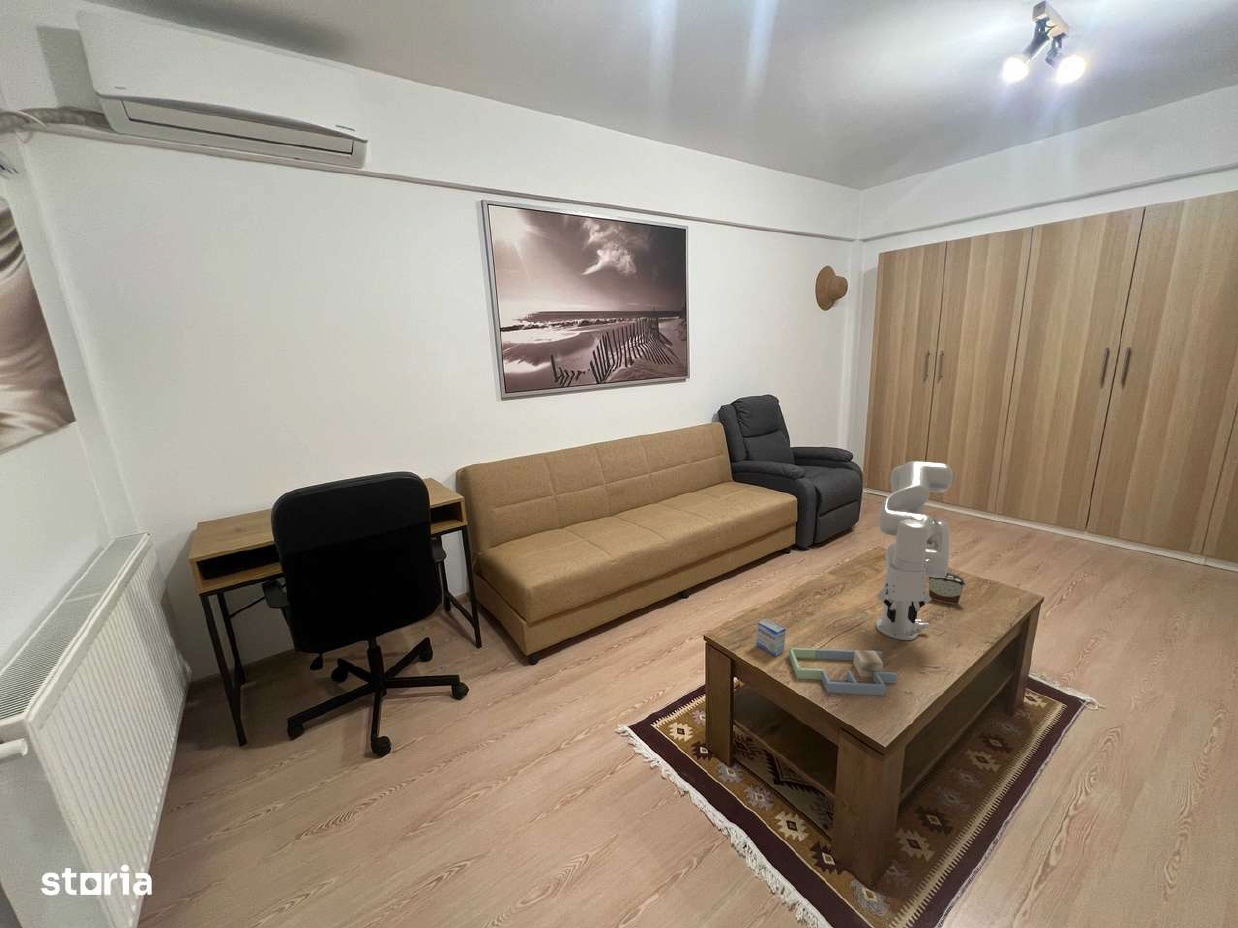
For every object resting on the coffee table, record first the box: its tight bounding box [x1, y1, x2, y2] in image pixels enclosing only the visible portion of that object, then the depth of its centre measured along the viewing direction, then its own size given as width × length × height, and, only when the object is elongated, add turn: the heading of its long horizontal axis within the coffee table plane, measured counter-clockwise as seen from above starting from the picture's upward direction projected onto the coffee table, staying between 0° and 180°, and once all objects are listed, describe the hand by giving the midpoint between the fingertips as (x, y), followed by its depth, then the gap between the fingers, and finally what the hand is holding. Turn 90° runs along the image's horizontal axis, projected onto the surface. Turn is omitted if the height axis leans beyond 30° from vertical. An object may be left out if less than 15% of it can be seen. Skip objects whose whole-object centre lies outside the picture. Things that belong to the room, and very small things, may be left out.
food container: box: [926, 571, 967, 606], centre depth 188 cm, size 12×6×10 cm, turn 58°
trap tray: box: [788, 647, 898, 696], centre depth 147 cm, size 28×17×3 cm, turn 84°
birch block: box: [852, 649, 884, 678], centre depth 149 cm, size 6×6×5 cm
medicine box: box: [755, 618, 787, 657], centre depth 160 cm, size 8×4×9 cm, turn 37°
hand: (901, 619), depth 144 cm, fingers open, 4 cm apart
